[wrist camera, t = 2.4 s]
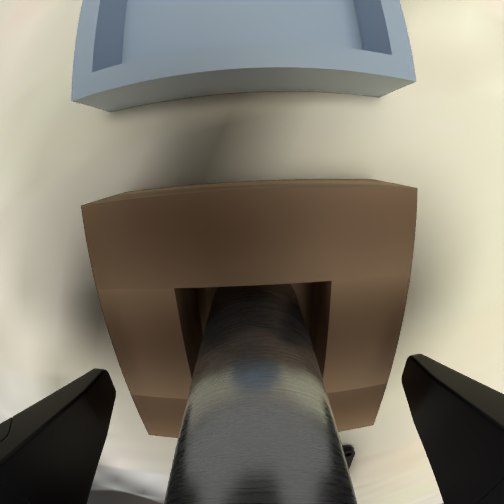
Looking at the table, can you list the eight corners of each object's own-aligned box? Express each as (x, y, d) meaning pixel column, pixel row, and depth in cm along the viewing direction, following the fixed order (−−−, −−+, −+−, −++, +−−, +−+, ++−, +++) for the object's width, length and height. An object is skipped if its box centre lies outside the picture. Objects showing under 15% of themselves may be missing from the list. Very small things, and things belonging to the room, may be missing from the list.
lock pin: (297, 340, 12) (345, 573, 3) (216, 344, 12) (182, 578, 3) (298, 265, 11) (402, 540, 2) (207, 270, 11) (116, 546, 2)
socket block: (353, 377, 14) (373, 424, 10) (164, 386, 14) (149, 434, 11) (372, 179, 11) (417, 188, 7) (125, 192, 11) (81, 205, 8)
